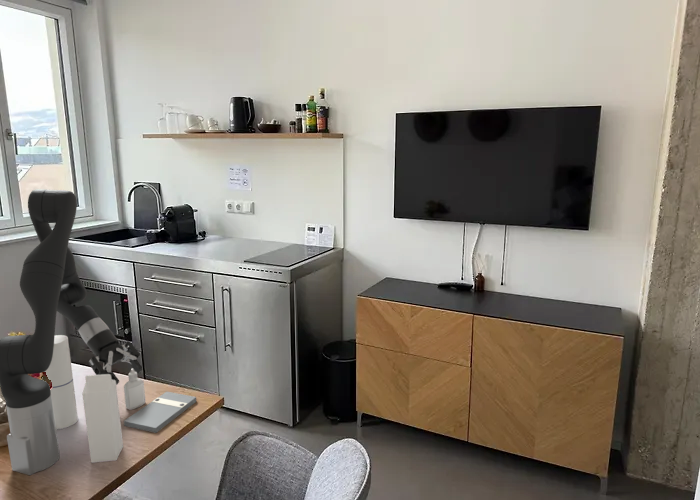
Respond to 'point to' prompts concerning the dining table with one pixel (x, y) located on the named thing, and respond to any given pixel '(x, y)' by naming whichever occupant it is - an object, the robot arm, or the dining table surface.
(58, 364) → the cylindrical container
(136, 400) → the eye dropper bottle
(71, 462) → the dining table surface
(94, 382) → the milk
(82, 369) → the dining table surface
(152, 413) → the floor panel
